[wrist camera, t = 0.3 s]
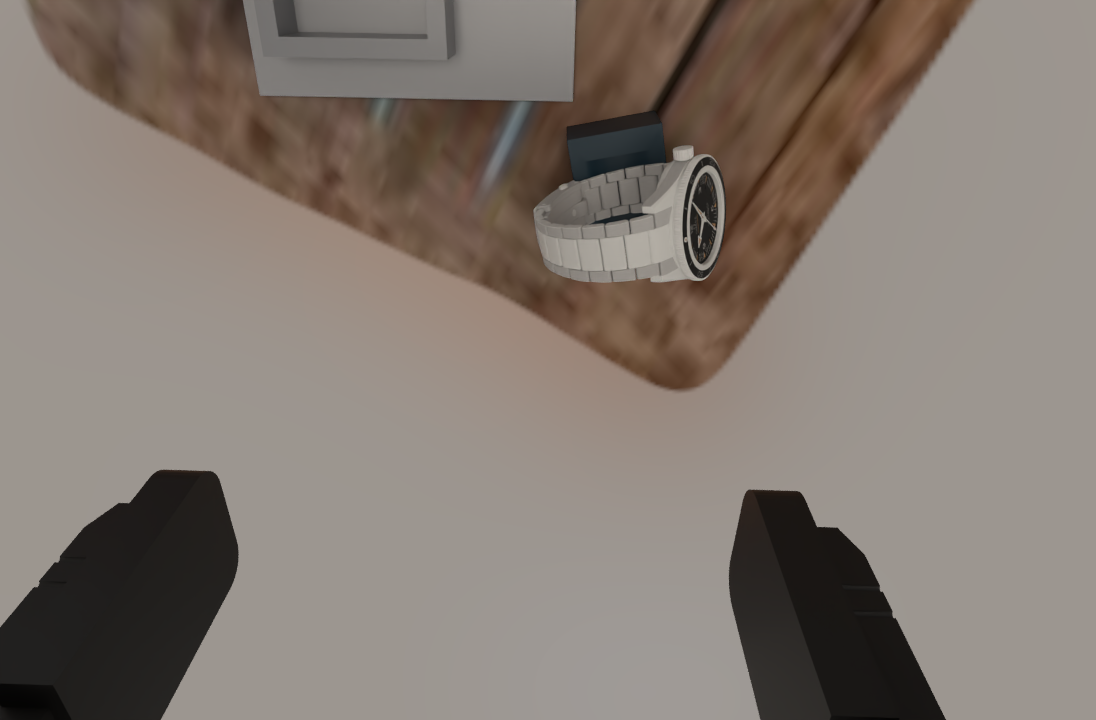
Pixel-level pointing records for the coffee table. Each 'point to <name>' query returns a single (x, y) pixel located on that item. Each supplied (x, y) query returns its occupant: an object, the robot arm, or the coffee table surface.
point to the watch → (632, 207)
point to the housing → (414, 48)
